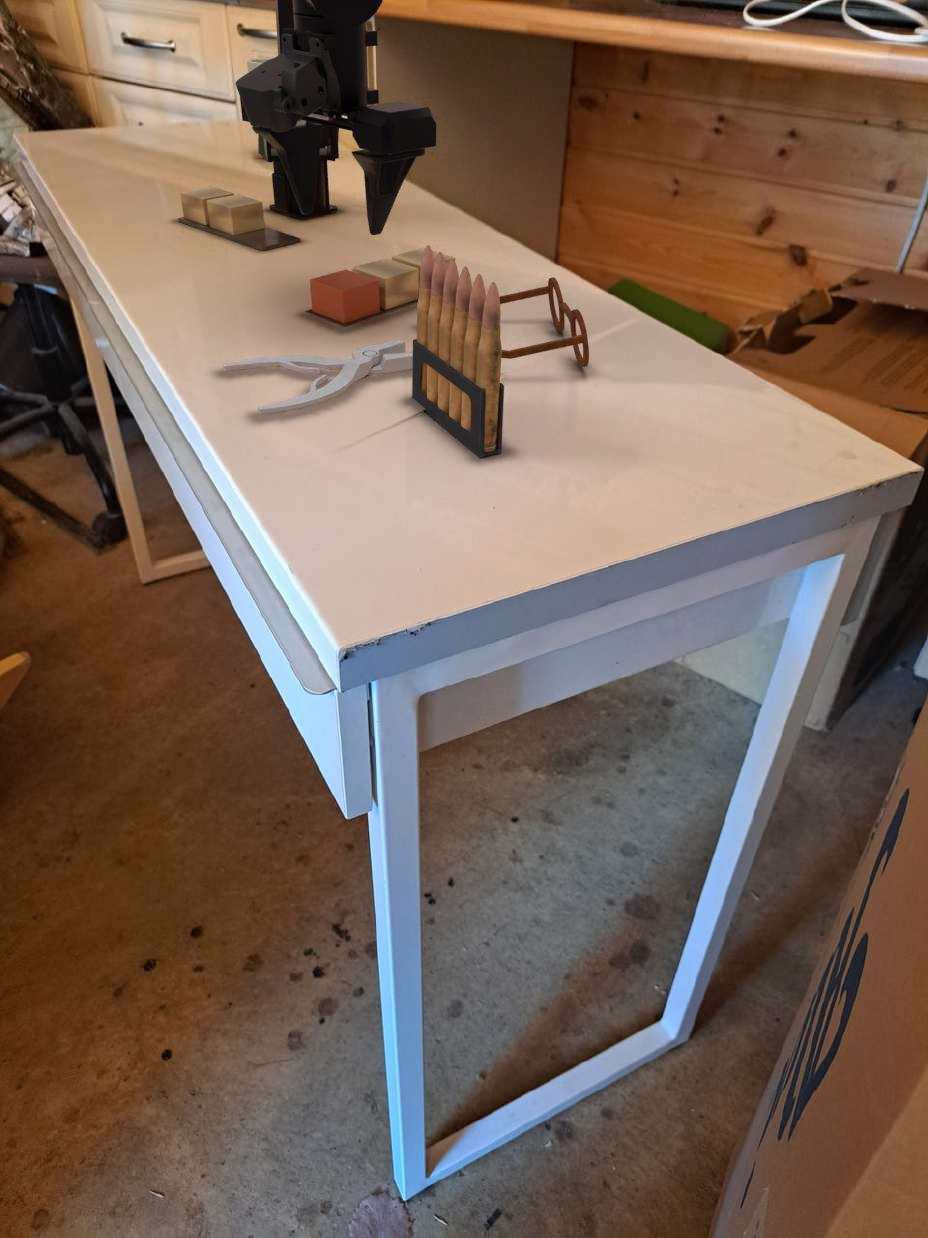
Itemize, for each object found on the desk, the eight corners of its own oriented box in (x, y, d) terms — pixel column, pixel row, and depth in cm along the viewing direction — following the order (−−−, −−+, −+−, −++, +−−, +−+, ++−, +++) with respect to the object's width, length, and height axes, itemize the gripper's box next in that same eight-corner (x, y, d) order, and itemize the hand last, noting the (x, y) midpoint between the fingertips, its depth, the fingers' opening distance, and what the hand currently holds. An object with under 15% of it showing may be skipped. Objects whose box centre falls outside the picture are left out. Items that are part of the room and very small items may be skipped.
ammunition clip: (411, 400, 70) (410, 243, 62) (431, 396, 71) (433, 240, 63) (480, 458, 63) (488, 288, 55) (502, 452, 63) (513, 284, 56)
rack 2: (422, 278, 94) (422, 245, 92) (461, 291, 91) (462, 257, 89) (304, 315, 84) (301, 279, 82) (344, 330, 81) (342, 293, 79)
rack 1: (178, 221, 108) (173, 191, 106) (216, 213, 111) (212, 184, 109) (262, 250, 99) (259, 219, 97) (300, 241, 103) (298, 210, 101)
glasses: (590, 379, 74) (597, 320, 71) (438, 383, 73) (439, 323, 69) (554, 323, 85) (559, 270, 81) (419, 326, 83) (420, 271, 80)
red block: (347, 300, 86) (345, 268, 85) (380, 312, 84) (379, 280, 82) (311, 311, 84) (309, 279, 82) (344, 323, 81) (342, 291, 80)
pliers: (220, 353, 72) (386, 327, 78) (223, 371, 73) (387, 344, 79) (259, 399, 65) (437, 367, 71) (262, 419, 66) (437, 385, 72)
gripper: (173, 7, 69) (203, 217, 79) (332, 29, 60) (344, 265, 70) (284, 3, 76) (299, 198, 86) (442, 23, 66) (439, 239, 76)
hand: (340, 223), depth 79 cm, fingers open, 9 cm apart
